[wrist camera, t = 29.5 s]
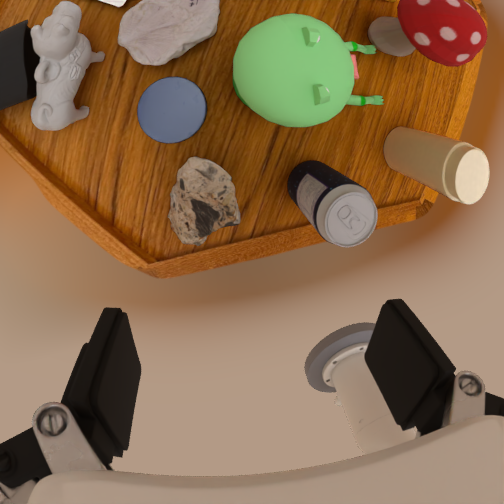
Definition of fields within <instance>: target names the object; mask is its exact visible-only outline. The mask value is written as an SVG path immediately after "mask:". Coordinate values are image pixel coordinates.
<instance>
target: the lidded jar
mask: <svg viewBox="0 0 504 504" xmlns="http://www.w3.org/2000/svg"><path fill="white" fill-rule="evenodd" d="M384 157H385V160H386V162H387V164H388V165H389V167H390V168H391V169H393V170H394V171H396V172H398V173H400V174H403V175H405V176H407V177H409V178H411V179H413V180H415V181H417V182H419V183H421V184H423V185H425V186H427V187H429V188H431V189H433V190H435V191H437V192H438V193H440V194H442V195H444V196H446V197H448V198H450V199H451V200H453V201H461V203H465V204H473V203H475V202H477V201H478V200H479V199H480V198H481V197H482V195H483V194H484V192H485V190H486V188H487V185H488V181H489V164H488V160H487V158H486V156H485V154H484V152H483V151H481V150H480V149H479V148H476V147H475V148H474V147H473V146H472V145H471V144H469V143H467V142H463V141H460V140H457V139H453V138H450V137H446V136H442V135H438V134H435V133H431V132H427V131H422V130H418V129H414V128H409V127H404V126H401V127H397V128H395V129H393V130H392V131H391V132H390V133H389V134H388V136H387V137H386V140H385V143H384Z"/></svg>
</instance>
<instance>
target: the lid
mask: <svg viewBox="0 0 504 504" xmlns="http://www.w3.org/2000/svg"><path fill="white" fill-rule="evenodd" d="M204 97H205V96H204V95H203V93H202V92H201V89H200V88H198V87H197V86H196V85H195V83H194V82H191V81H189V80H187V79H186V78H181V77H167V78H163V79H160V80H158V81H156V82H154V83H153V84H151V85H150V86H149V87H148V88H147V89H146V90H145V91H144V93H143V94H142V96H141V98H140V101H139V104H138V110H137V115H138V121H139V124H140V126H141V128H142V129H143V131H144V132H145V133H146V134H147V135H148V136H149V137H151V138H152V139H154V140H156V141H158V142H162V143H177V142H180V141H183V140H186V139H187V138H189V137H190V136H193V135H194V133H195V132H196V131H197V130H199V129H200V128H199V127H200V126H201V125H202V123H203V122H204V118H205V115H206V114H207V113H206V105H207V104H206V101H205V98H204Z"/></svg>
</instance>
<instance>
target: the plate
mask: <svg viewBox="0 0 504 504" xmlns="http://www.w3.org/2000/svg"><path fill="white" fill-rule="evenodd" d="M99 1H102V2H105V3H108V4H111V5H114V6H117V7H120V6H123V4H124V3H125V2H126V0H99Z"/></svg>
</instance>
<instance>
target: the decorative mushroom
mask: <svg viewBox="0 0 504 504" xmlns="http://www.w3.org/2000/svg"><path fill="white" fill-rule="evenodd" d="M397 9H398V18H394V17H380V18H377V19H376V20H374V21H373V22H372V23H371V25H370V27H369V29H368V37H369V40H370V42H371V43H372V44H373V45H374V46H375V47H376V48H377V49H378V50H380V51H382V52H384V53H386V54H390V55H394V56H406V55H409V54H411V53H412V52H413V51H414V50H415V49H417V50H418V51H419V52H420V53H421V54H423V55H424V56H426V57H427V58H429V59H430V60H432V61H434V62H437V63H440V64H443V65H446V66H460V65H463V64H465V63H467V62H470V61H471V60H472V59H473V58H474V57H475V55H476V54H477V53H478V52H480V50H481V49H482V48H483V47H484V46H485V43H486V40H487V29H486V26H485V23H484V21H483V19H482V17H481V16H480V15H479V13H478V12H477V11H476V10H475V9H474V8H473V7H472V6H471V5H469V4H468V3H467V2H465V1H463V0H400V1H399V4H398V7H397Z"/></svg>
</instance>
